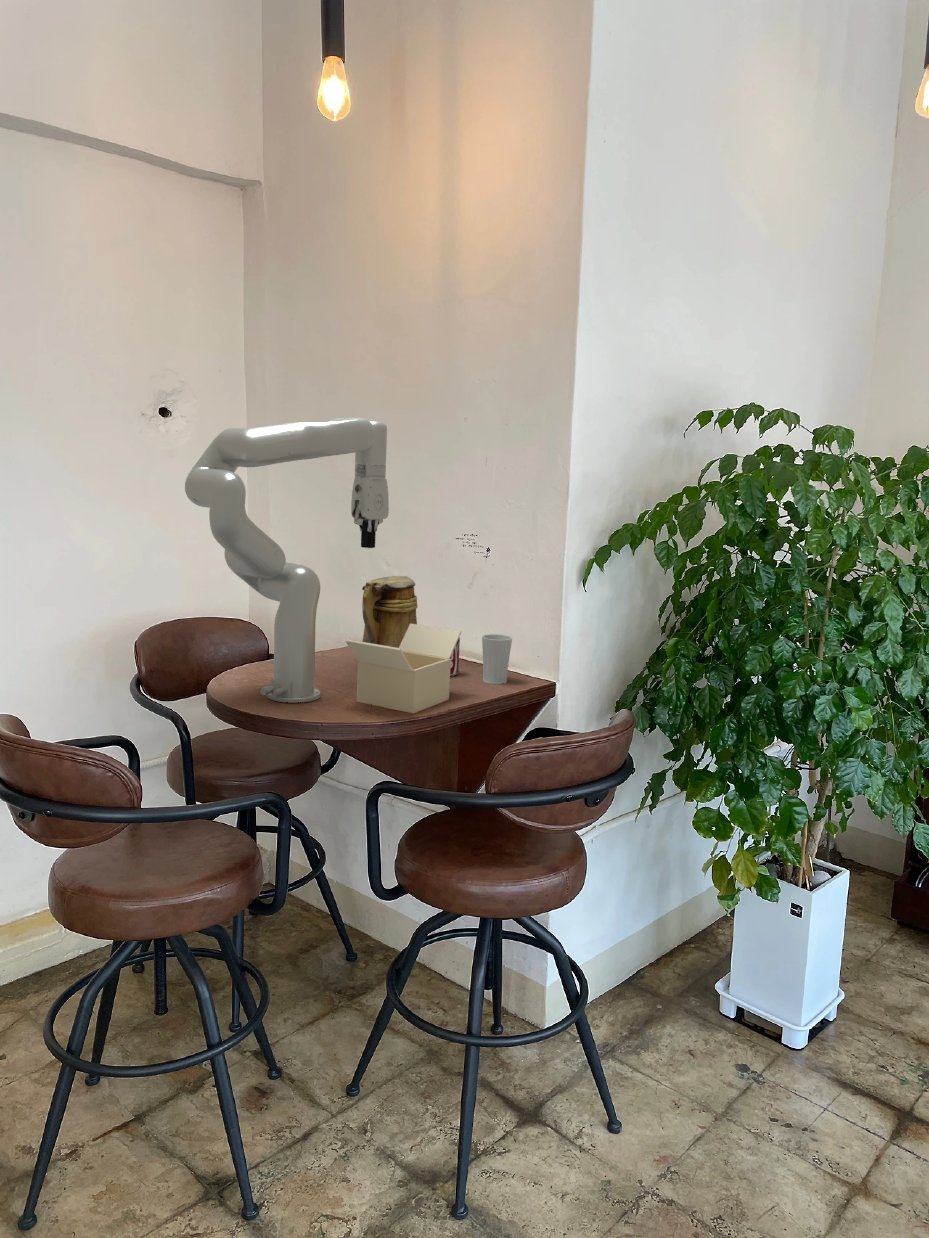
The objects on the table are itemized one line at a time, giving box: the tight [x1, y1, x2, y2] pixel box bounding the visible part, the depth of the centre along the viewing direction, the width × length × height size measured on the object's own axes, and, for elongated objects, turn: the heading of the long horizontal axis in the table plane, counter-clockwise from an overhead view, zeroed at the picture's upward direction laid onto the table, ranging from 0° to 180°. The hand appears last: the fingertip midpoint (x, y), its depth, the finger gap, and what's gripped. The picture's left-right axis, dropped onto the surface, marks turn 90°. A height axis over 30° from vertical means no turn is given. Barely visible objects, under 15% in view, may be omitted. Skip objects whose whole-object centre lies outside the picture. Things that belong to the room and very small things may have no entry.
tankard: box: [356, 575, 418, 665], centre depth 247 cm, size 18×24×25 cm
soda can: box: [450, 636, 461, 677], centre depth 243 cm, size 7×7×12 cm
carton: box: [356, 651, 451, 714], centre depth 214 cm, size 16×16×10 cm
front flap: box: [344, 638, 413, 672], centre depth 204 cm, size 8×15×1 cm
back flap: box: [399, 623, 462, 659], centre depth 222 cm, size 8×15×1 cm
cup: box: [481, 633, 513, 685], centre depth 238 cm, size 8×8×12 cm
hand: (368, 547), depth 222 cm, fingers closed
